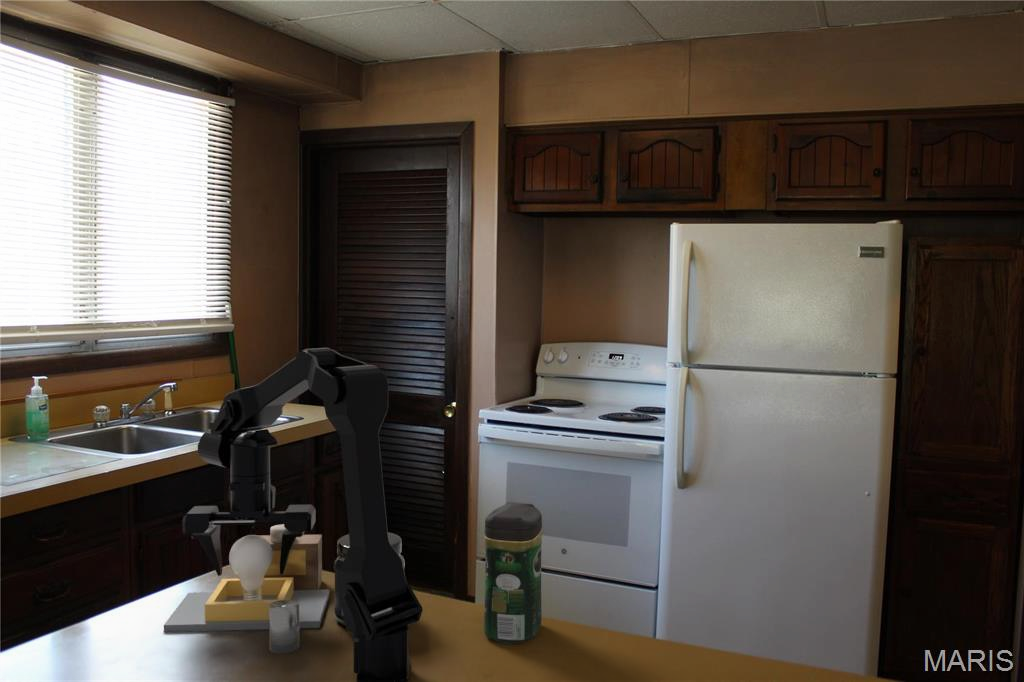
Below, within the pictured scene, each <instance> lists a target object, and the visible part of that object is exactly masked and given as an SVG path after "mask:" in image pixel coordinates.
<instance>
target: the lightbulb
mask: <svg viewBox="0 0 1024 682" xmlns="http://www.w3.org/2000/svg"><path fill="white" fill-rule="evenodd" d="M261 536H262V535H258V534H257V535H256V534H248V535H245V536H242V537H241V538H239V539H237V540H236V541H235V542H234V543H233V544H232V546H231V549H230V551H229V555H228V561H229V566H230V568H231V570H232V571H233V572H234V574H235V575H236V576H237V577H238V578H239V579H240V583H241V586H242V588H243V594H244V595H243V596H244V598H243V599H244V601H262V597H261V596H262V594H261V593H262V592H261V590H262V585H263V581H264V576H265V574H266V572H267V570H268V569H269V567H270V565H271V563H272V559H273V551H272V547H271V545H270V544H269V542H268V541H267V540H266V539H264V538H263V537H261Z"/></svg>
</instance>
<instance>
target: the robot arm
mask: <svg viewBox="0 0 1024 682" xmlns="http://www.w3.org/2000/svg"><path fill="white" fill-rule="evenodd" d="M308 390H309V391H310V393H312V394H314V395H315V396H316V397H318V398H319V399H321V400H322V401H323V407H324V408H323V409H324V412H325V416H326V418H327V419H328V421H329V423H330V424H331V425H332V426H333V428H334V430H335V431H336V432H337V433H338V435H339V438H340V439H339V440H340V450H341V461H342V471H343V483H344V491H345V492H344V493H345V504H346V514H347V515H346V516H347V527H348V534H349V540H350V547H349V549H348V552H347V554H346V556H345V558H341V559H338V560H337V561H336V566H335V568H336V573H337V584H338V585H337V592H339V591H340V601H341V606H342V611H343V615H344V620H345V624H346V626H345V628H346V631H347V632H348V633H350V634H351V635H352V638H354V639H353V673H354V674H355V675H356V680H355V682H409V673H410V658H409V625H411V624H414V623H418V622H420V621H421V616H422V614H423V606H422V605H421V603H420V601H419V599H418V598H417V595H416V594H415V592H414V590H413V589H412V587H411V585H410V583H409V581H408V580H407V579H406V573H405V567H404V568H403V563H402V559H401V558H400V556H399V555H398V553H397V552H396V551H395V549H394V548H393V547H392V545H391V544H390V542H389V539H388V522H387V512H386V510H387V509H386V499H385V490H384V488H385V487H384V479H383V468H382V456H381V455H382V454H381V447H380V446H381V444H380V435H379V433H380V430H381V427H382V424H383V423H384V419H385V417H386V416H387V413H388V410H389V380H388V377H387V374H386V373H385V372H383V371H382V369H381V368H380V367H378V366H377V365H374V364H368V363H367V362H364V361H361V360H359V359H356V358H353V357H349V356H346V355H344V354H341V353H340V352H338V351H337V350H335V349H331V348H330V347H319V348H318V347H317V348H315V347H314V348H313V347H312V348H305V349H303V350H301V351H299V352H298V353H297V354H296V356H295V357H294V358H292V359H291V360H290V361H289V362H287V363H286V364H284V365H283V366H282V367H280V368H279V369H278V370H276V371H274V372H273V373H272V374H270V375H268V377H266V378H265V379H263V380H262V381H260V382H259V383H257V384H255V385H250V386H246V387H241V388H238V389H235V390H233V391H230V392H227V393H226V395H225V396H224V398H223V400H222V403H221V405H220V407H219V410H218V413H217V414H216V417H215V419H214V421H209V423H208V424H209V426H208V427H209V428H208V429H207V430H206V431H205V432H204V433H203V434H202V435H201V437H200V438H199V441H198V444H197V453H198V456H199V458H201V460H203V462H205V463H209V464H211V465H216V466H219V467H222V468H226V469H230V482H229V487H228V496H227V497H228V501H230V511H225V512H224V511H223V512H222V511H221V512H220V511H219V507H218V505H195V506H193V507H192V508H191V509H189V511H188V512H187V513H186V514H185V515H184V516H182V517H183V518H182V523H181V524H182V526H181V528H182V530H181V531H182V533H183V534H191V539H192V540H198V541H199V543H200V544H201V546H202V547H203V549H204V551H205V552H206V554H207V556H208V558H209V560H210V562H211V564H212V566H213V569H214V570H215V572H216V575H217V576H218V577H220V576H222V575H223V557H222V548H221V538H220V537H221V526H243V525H244V526H246V525H247V526H249V525H253V526H254V525H256V526H257V525H281V524H284V527H285V528H286V529H285V531H284V532H283V534H282V544H281V556H280V574H283V573H284V570H285V567H286V564H287V561H288V558H289V554H290V551H291V548H292V545H293V543H294V541H295V539H296V537H302V536H303V535H305V532H311V531H313V528H314V525H315V523H316V517H317V516H316V513H317V512H316V507H315V506H314V505H313V504H289V505H288V507H287V509H286V510H285V511H271V510H274V508H275V507H276V506H275V504H276V487H275V486H274V485H272V483H271V447H273V446H276V445H278V444H279V443H278V442H279V441H278V440H277V438H276V437H275V436H274V435H273V434H272V433H270V430H269V429H267V428H266V427H270V426H272V425H273V424H274V423H276V421H277V420H278V419H279V418H280V417H281V416H282V415H283V409H284V406H286V404H288V403H289V402H291V401H292V400H294V399H296V398H297V397H298V396H300V395H301V394H303V393H305V392H306V391H308ZM391 607H392V610H390V611H387V612H384V613H381V614H379V615H376V616H373V617H372V616H371V615H372V614H374V613H377V612H380V611H383V610H385V609H388V608H391Z"/></svg>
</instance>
